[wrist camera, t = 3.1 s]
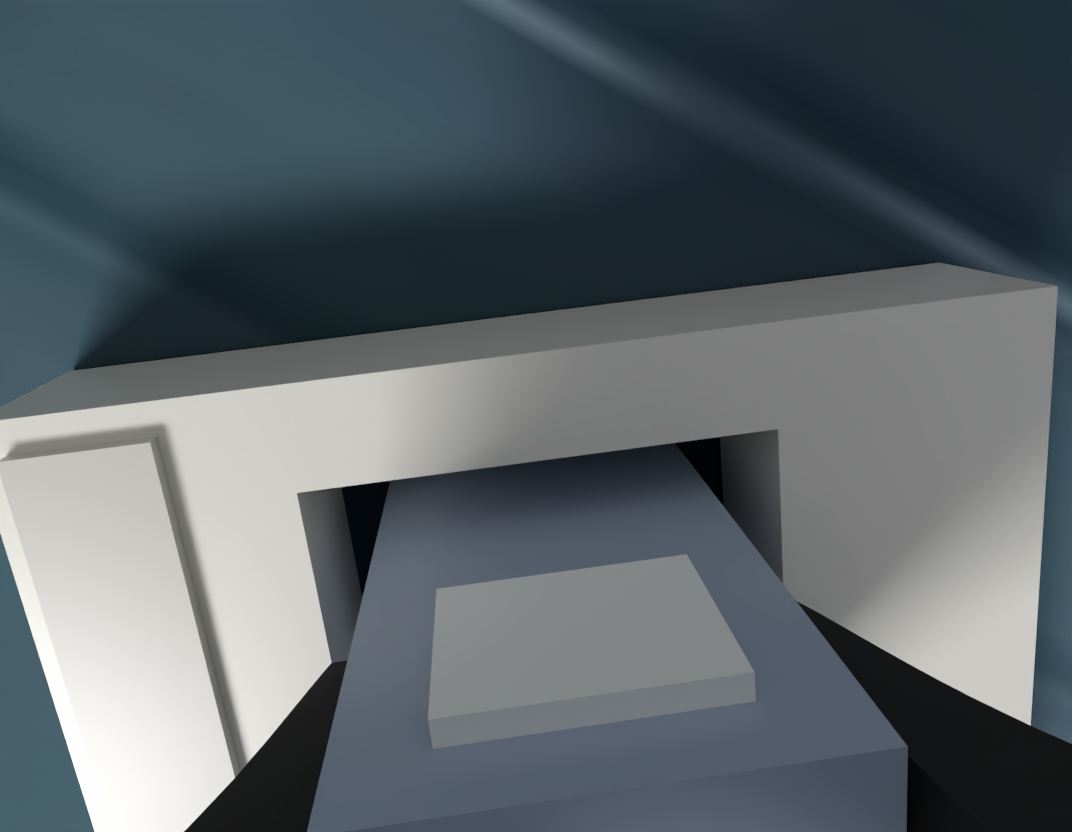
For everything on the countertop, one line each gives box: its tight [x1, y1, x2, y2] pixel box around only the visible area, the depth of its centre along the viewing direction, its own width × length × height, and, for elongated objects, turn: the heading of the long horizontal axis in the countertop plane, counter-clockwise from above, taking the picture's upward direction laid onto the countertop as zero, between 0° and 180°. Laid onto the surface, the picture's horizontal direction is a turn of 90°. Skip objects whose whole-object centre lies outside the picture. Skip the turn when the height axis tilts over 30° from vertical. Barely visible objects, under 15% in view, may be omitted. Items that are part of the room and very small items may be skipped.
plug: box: [307, 443, 908, 832], centre depth 9 cm, size 4×4×7 cm
